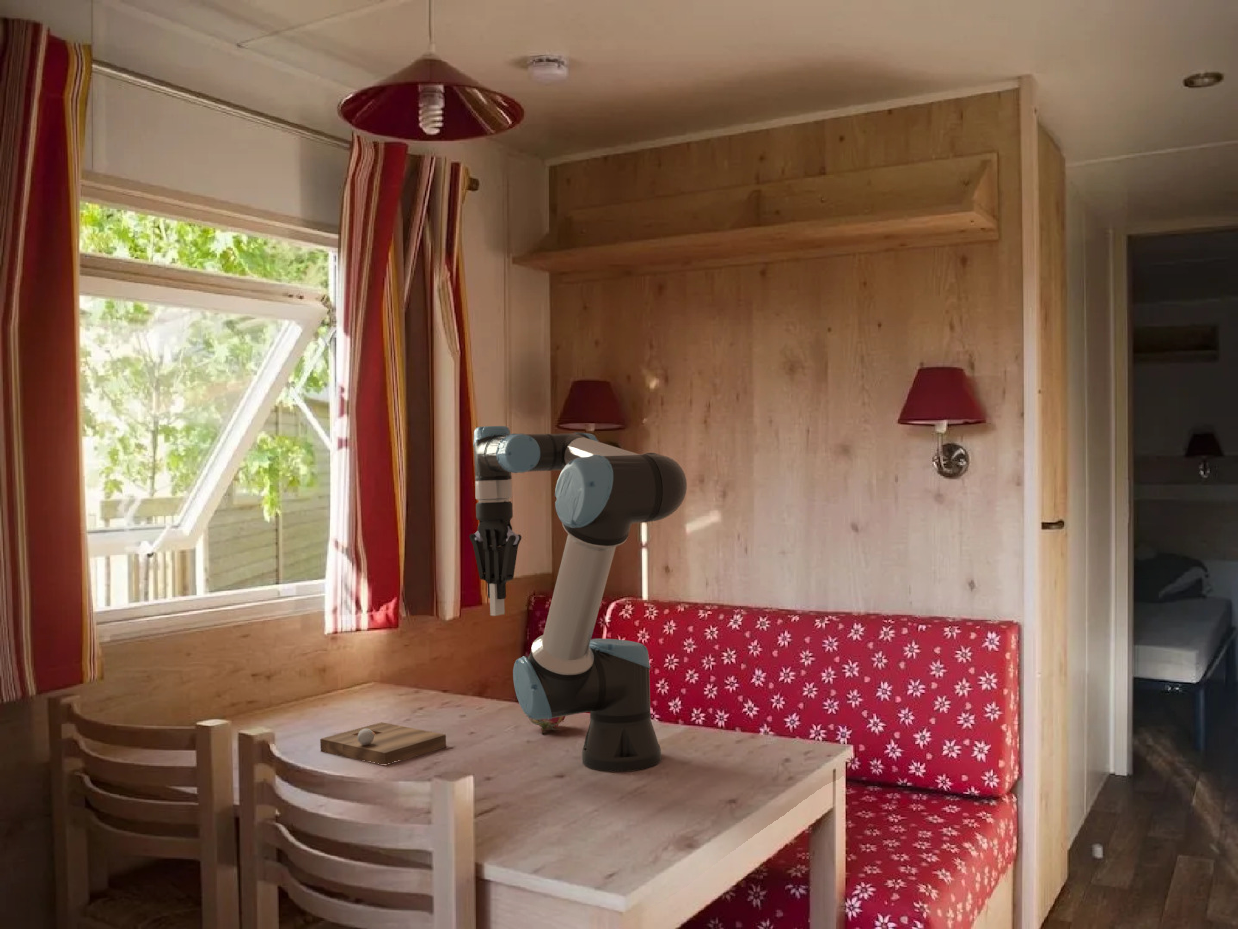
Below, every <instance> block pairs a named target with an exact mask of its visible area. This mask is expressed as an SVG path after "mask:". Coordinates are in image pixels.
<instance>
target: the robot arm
mask: <svg viewBox="0 0 1238 929" xmlns="http://www.w3.org/2000/svg"><path fill="white" fill-rule="evenodd" d="M510 430H511V429H510V428H509V427H508V426H506V425H492V426H491V425H489V426H487V425H485V426H477V427H476V428H475V429H474V431H473V444H472V446H473V453H474V455H473V456H474V457H473V460H474V482H475V483H474V486H475V488H474V490H475V499H476V501H478V502H476V504H475V518H476V520H477V521H478V522H479V523H478V526H477V531H476V532H475V533H470V534H469V537H468V538H469V540H470V541H471V543H472V546H473V551H474V556H475V561H476V566H477V571H478V576H479V579H480V580H481V581H482V580H483V581H485V582H486V583H487V597H488V599H489V613H490V614H489V615H490V616H492V617H495V616H502V615H505V614H506V613H505V612H506V611H505V609H506V608H505V599H506V597H507V586H506V585H507V582H510V581H512V580H514V578H515V577H514V575H515V571H516V562H517V556H518V548H519V545H520V542H521V541H522V539H523V538H522V535H521V534H517V533H515V532H514V531H513V526H512V524H511V520H512V518H513V516H514V515H513V512H514V511H513V502H512V501H510V500H511V499H512V497H513V496H512V495H513V494H512V493H513V492H512V491H513V490H512V486H513V485H512V474H517V473H520V474H521V473H523V474H524V473H527V472H528V473H529V472H550V471H552V472H553V471H561V472H560V474H559V476H558V479H557V480H556V485H555V490H554V491H555V492H554V497H556V500H555V502H554V505H555V506H554V507H555V511H556V515H557V516H558V519H559V520H560V522H561V524H562V527H563V529H564V531H565V532H566V533H567V537H566V542H565V545H564V549H563V553H562V557H561V561H560V562H561V563H560V566H559V569H558V572H557V578H556V582H555V584H554V585H555V586H554V589H553V593H552V598H551V602H550V607H549V610H548V614H547V618H546V622H545V627H544V631H543V634H542V635H540V636H538V637H537V638H536V639H534V641H533V642H532V645H531V648H530V652H529V655H527V656H526V655H525V656H524V655H523V656H522V657H519V658H517V659H516V660H515V662H514V665H513V669H512V679H513V686H514V687H513V688H514V691H515V695H516V698H517V701H518V704H519V707H520V708H521V711H522V712H523V714H525V716H526V717H527V716H528V717H529V718H530V719H534V720H539V719H552V718H556V717H562V716H565V717H567V716H573V715H578V714H585V713H589V724H588V725H589V726H588V728H587V732H586V735H585V740H584V744H583V747H582V750H581V753H582V754H581V758H582V759H581V763H582V764H583V765H584V766H585V767H588V768H589V769H593V770H597V771H603V772H604V771H605V772H631V771H632V772H633V771H639V770H640V771H641V770H644V769H649V768H652V767H654V766H656V765H658V764H659V763H661V761H662V752H661V751H662V750H661V746H660V744H659V742H658V738H657V735H656V731H655V728H654V724H653V723H652V718H651V685H650V684H651V683H650V682H651V681H650V680H651V678H650V669H651V665H650V664H651V663H650V657H649V650H648V648H647V647H646V646H645V645H644V644H642V643H641V642H637V641H631V640H626V639H624V640H623V639H618V638H617V639H616V638H615V639H614V638H592V636H593V633H594V629H595V626H596V622H597V618H598V615H599V610H600V607H601V604H602V600H603V596H604V593H605V589H606V584H607V582H608V581H607V580H608V578H609V577H608V576H609V575H610V571H611V566H612V562H613V560H614V556H615V552H616V549H617V547H618V546H621V545H623V544H624V543H625V542H626V541H627V539H628V537H629V534H630V531H631V527H632V525H633V524H639V523H651V522H657V521H661V520H663V519H665V518H668V517H669V516H671V515H673V514H674V513H675V512H676V511H677V510H679V507H681V505H682V503H683V502H684V500H685V497H686V494H687V490H688V489H687V488H688V483H687V477H686V473H685V472H684V470H683V468H682V467H681V466H680V464H679V463H678V462H677V461H676V460H674V459H673V458H670V457H669V456H665V455H664V454H663V455H662V454H659V453H655V452H644V453H641V454H639V453H636V452H633V451H629V450H627V449H623V448H620V447H616V446H615V445H614V446H613V445H610V444H607V443H604V442H600V441H599V440H598V439H597V437H596V436H595V435H594V434H592V433H587V432H573V433H570V432H569V433H527V434H526V433H511V431H510ZM528 717H527V718H528ZM529 718H528V719H529Z"/></svg>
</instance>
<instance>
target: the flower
mask: <svg viewBox="0 0 1238 929" xmlns="http://www.w3.org/2000/svg"><path fill="white" fill-rule="evenodd" d="M526 717H527V719H529V721H530V722H531V723H532V724H534V725H535V726H539V727H541V730H540V733H541V734H542V735H545V733H546V730H547V729H549V730H550V731H558V730H561V731H562V728H557V727H558V726H559V724H561V723H564V722H565V718H566V716H562V717H556V718H552V719H539V720H534V719H531V718H529V717H528V716H527V715H526Z"/></svg>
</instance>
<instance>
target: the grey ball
mask: <svg viewBox="0 0 1238 929" xmlns="http://www.w3.org/2000/svg"><path fill="white" fill-rule="evenodd" d="M373 739H374V734H373V732H372V731H371V730H370V729H362V730H361V731H360V732H359V733H358V741H359V743H361V744H362V745H368V744H370V743H371V742H372V741H373Z"/></svg>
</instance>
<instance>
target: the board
mask: <svg viewBox="0 0 1238 929" xmlns="http://www.w3.org/2000/svg"><path fill="white" fill-rule="evenodd" d="M362 729H370V730H371V731H373V732H374V733H375V734H376V735H374V739H373V741H372V742H371V743H370V744H368V745H362V744H361V743H359V741H358V733H359V732H360V731H361V730H362ZM446 735H447V734H443V733H441V732H440V733H438V732H435V731H434V732H433V731H427V730H422V729H417V728H413V727H407V726H402V725H397V724H392V723H387V722H381V721H380V722H378V723H377V722H376V723H374V724H370V725H367V726H364V727H363V726H362V727H358V728H355V729H351V730H348V731H344V732H340V733H337V734H333V735H329V736H326V737H321V738H320V739H319V743H320V745H319V746H320V752H324V753H328V754H331V755H332V754H333V755H336V754H337V755H336V756H340V755H342V756H341V757H345V756H346V757H345V758H349V757H350V759H353V758H354V759H353V760H359V761H362V760H365V761H364V762H366V761H371V762H375V763H379V764H388V763H392V762H394V761H398V760H402V761H405V760H408V758H409V759H412V758H414V757H418V756H420V755H421V754H422V755H424V754H427V753H430V752H434V751H437V750H440V749H443V748H446V747H447V736H446ZM417 755H418V756H417ZM422 755H421V756H422ZM411 757H412V758H411ZM404 759H405V760H404ZM371 762H370V763H371ZM375 763H374V764H375ZM379 764H378V765H379Z"/></svg>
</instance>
